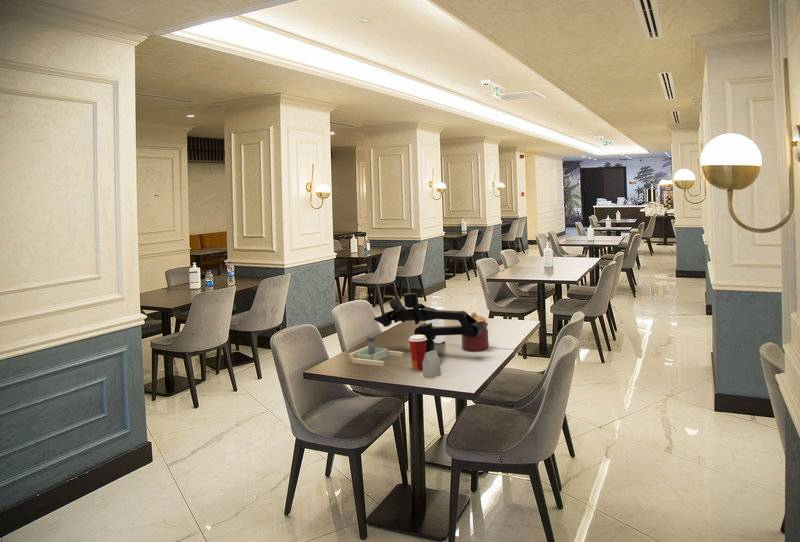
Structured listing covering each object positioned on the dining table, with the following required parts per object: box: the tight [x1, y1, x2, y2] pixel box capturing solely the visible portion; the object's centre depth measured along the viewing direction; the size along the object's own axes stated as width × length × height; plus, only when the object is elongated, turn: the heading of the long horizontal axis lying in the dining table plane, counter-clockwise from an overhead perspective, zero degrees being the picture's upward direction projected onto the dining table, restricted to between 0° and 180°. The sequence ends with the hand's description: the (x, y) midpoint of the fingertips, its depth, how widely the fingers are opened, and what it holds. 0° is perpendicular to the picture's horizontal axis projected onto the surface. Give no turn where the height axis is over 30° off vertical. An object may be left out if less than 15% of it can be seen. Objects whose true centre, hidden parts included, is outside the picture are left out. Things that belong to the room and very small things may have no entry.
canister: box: [460, 311, 490, 352], centre depth 272 cm, size 13×13×18 cm
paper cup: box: [408, 334, 427, 371], centre depth 244 cm, size 8×8×14 cm
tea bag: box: [422, 349, 442, 379], centre depth 233 cm, size 4×7×10 cm, turn 136°
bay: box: [348, 345, 405, 367], centre depth 260 cm, size 18×18×5 cm
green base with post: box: [356, 335, 389, 361], centre depth 261 cm, size 9×13×10 cm
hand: (379, 316), depth 278 cm, fingers open, 9 cm apart
